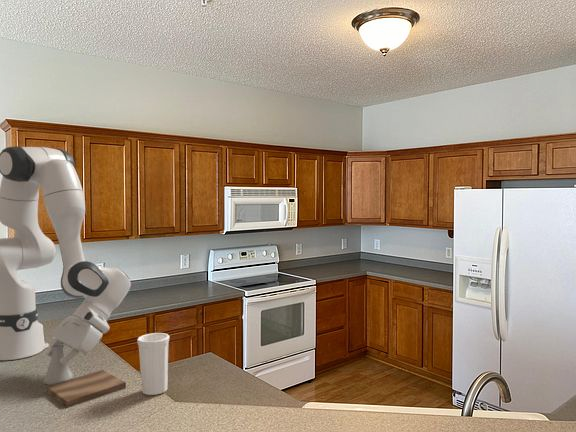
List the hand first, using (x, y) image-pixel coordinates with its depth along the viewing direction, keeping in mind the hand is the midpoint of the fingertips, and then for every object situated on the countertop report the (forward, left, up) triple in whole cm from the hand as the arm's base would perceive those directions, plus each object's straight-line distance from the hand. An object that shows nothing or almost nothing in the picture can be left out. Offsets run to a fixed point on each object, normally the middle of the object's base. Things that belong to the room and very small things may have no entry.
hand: (55, 359), depth 124 cm
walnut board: (+13, +3, -6) cm, 15 cm away
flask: (0, +1, -6) cm, 6 cm away
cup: (+28, +15, -6) cm, 32 cm away
